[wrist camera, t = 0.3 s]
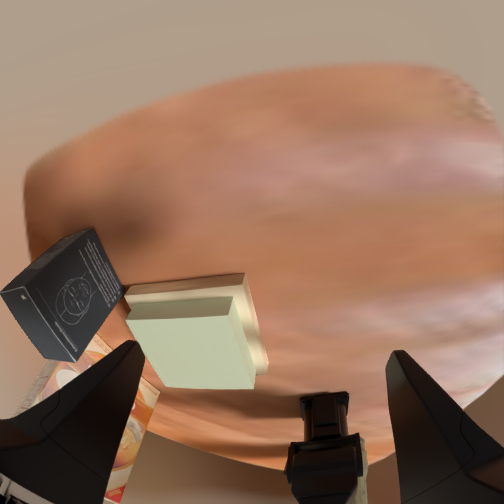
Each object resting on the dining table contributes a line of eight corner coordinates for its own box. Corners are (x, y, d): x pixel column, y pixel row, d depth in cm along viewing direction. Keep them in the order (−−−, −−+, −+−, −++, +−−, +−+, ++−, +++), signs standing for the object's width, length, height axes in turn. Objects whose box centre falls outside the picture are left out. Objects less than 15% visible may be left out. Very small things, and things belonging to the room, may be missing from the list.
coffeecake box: (162, 392, 36) (121, 506, 19) (134, 396, 38) (94, 495, 21) (87, 321, 31) (11, 439, 14) (66, 334, 33) (1, 433, 16)
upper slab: (256, 370, 28) (253, 388, 26) (172, 370, 30) (165, 386, 28) (233, 296, 24) (228, 315, 21) (135, 303, 25) (124, 320, 23)
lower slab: (269, 357, 30) (267, 374, 28) (174, 360, 33) (168, 375, 30) (246, 268, 25) (242, 284, 23) (134, 281, 27) (123, 295, 25)
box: (61, 238, 25) (-3, 292, 16) (95, 225, 24) (22, 285, 15) (92, 297, 28) (43, 360, 19) (127, 292, 27) (77, 365, 18)
